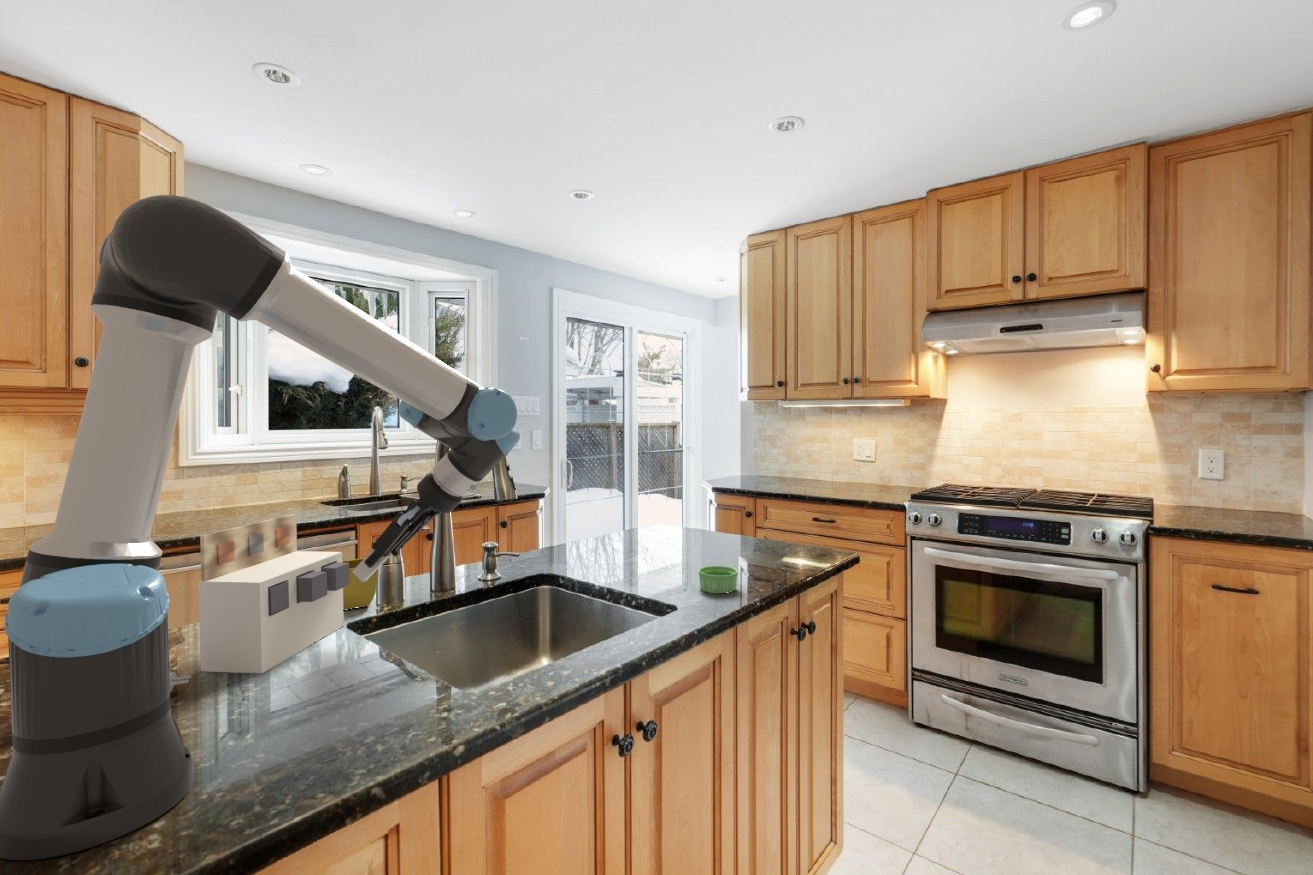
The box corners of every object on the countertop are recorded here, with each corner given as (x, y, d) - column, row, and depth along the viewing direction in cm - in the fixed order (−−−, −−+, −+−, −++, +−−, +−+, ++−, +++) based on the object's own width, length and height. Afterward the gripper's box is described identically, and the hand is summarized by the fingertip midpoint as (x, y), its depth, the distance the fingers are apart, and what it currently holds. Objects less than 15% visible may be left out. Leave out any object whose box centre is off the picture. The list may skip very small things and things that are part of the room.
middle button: (312, 601, 101) (311, 578, 101) (293, 601, 102) (293, 577, 102) (327, 594, 105) (326, 571, 105) (309, 594, 106) (309, 571, 106)
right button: (336, 590, 108) (335, 568, 108) (318, 590, 108) (318, 567, 108) (349, 584, 112) (348, 562, 112) (332, 584, 112) (332, 562, 112)
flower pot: (330, 616, 120) (329, 570, 120) (328, 604, 128) (327, 561, 128) (379, 609, 125) (378, 565, 124) (374, 598, 132) (374, 556, 132)
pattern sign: (206, 581, 94) (205, 536, 93) (201, 581, 94) (200, 535, 94) (298, 551, 115) (297, 513, 114) (294, 551, 115) (293, 513, 114)
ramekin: (725, 582, 145) (725, 563, 145) (745, 592, 136) (745, 572, 136) (691, 586, 141) (691, 567, 141) (710, 597, 133) (710, 577, 133)
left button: (271, 614, 95) (270, 588, 95) (252, 613, 95) (251, 588, 95) (289, 606, 99) (288, 581, 99) (270, 605, 99) (269, 581, 99)
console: (262, 673, 94) (259, 582, 93) (200, 671, 94) (198, 581, 94) (343, 626, 114) (342, 551, 114) (293, 624, 115) (291, 550, 115)
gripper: (446, 504, 101) (352, 601, 103) (477, 494, 114) (392, 581, 116) (415, 472, 101) (322, 569, 103) (449, 465, 114) (365, 552, 116)
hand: (359, 575), depth 110 cm, fingers closed
